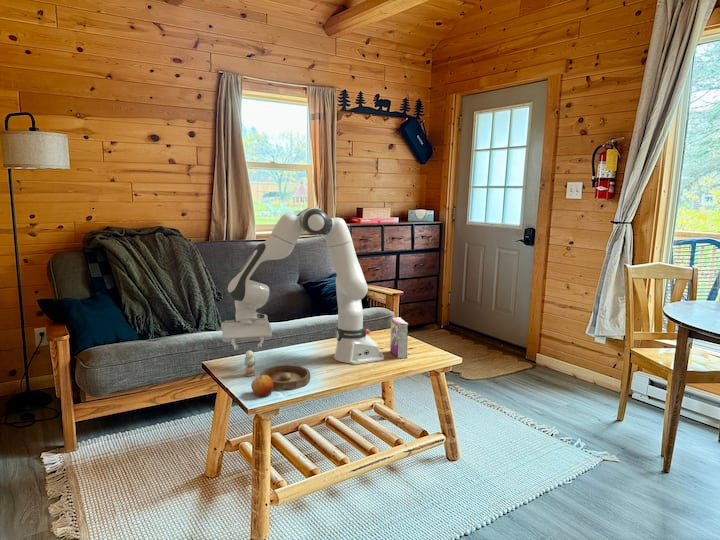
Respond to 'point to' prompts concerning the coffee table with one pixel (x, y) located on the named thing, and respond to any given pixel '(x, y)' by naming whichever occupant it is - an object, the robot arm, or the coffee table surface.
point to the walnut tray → (295, 376)
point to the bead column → (249, 364)
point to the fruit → (262, 386)
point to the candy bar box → (399, 337)
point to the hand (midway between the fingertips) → (248, 348)
